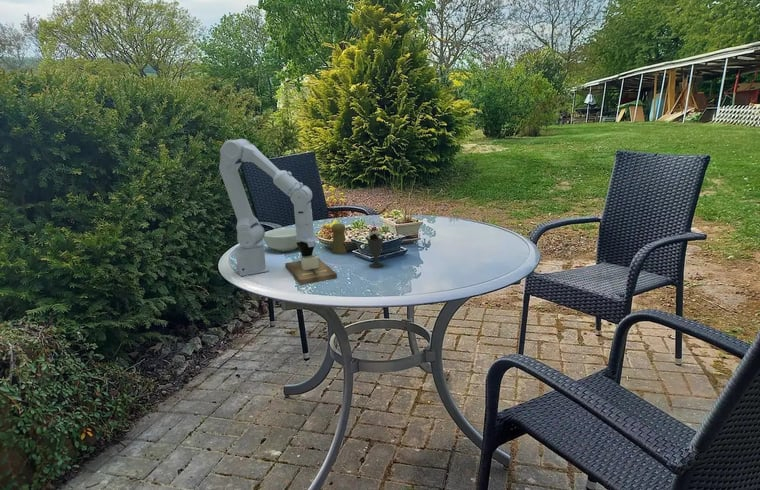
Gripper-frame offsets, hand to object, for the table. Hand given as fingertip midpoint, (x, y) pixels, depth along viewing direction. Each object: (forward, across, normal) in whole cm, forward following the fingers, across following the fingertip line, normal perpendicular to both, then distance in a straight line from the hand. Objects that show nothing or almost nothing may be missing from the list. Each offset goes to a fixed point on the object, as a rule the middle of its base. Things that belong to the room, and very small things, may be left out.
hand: (307, 262), depth 151 cm
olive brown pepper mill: (+3, +15, -17) cm, 23 cm away
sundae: (+3, -8, -22) cm, 23 cm away
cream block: (+1, -3, 0) cm, 3 cm away
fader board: (+3, -3, 0) cm, 4 cm away
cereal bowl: (+3, +31, 0) cm, 32 cm away
